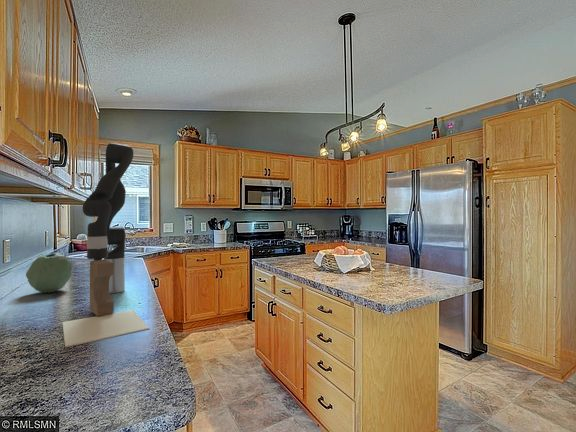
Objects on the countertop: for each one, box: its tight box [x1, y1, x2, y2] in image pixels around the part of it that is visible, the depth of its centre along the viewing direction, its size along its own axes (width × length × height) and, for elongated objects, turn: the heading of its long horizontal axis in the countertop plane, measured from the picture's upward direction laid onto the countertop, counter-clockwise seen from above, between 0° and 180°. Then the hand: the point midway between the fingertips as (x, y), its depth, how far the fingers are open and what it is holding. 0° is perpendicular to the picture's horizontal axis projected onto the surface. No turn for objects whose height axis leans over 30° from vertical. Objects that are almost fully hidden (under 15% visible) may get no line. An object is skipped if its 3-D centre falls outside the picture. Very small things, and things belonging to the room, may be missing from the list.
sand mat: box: [62, 309, 150, 348], centre depth 106 cm, size 26×23×1 cm
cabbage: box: [25, 251, 73, 294], centre depth 156 cm, size 16×19×20 cm
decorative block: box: [89, 259, 115, 317], centre depth 120 cm, size 11×6×20 cm, turn 45°
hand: (97, 287), depth 129 cm, fingers closed
